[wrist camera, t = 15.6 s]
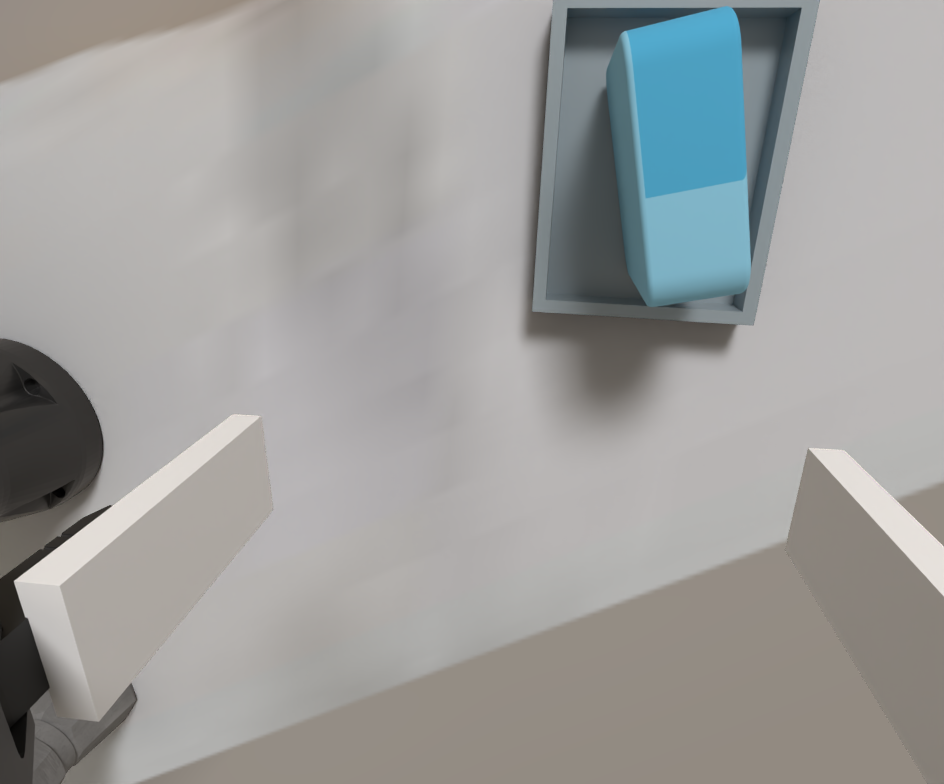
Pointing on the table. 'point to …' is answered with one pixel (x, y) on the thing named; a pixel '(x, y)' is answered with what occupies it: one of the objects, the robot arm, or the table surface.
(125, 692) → the coffeepot
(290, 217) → the table surface
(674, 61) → the data package
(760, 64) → the tray
